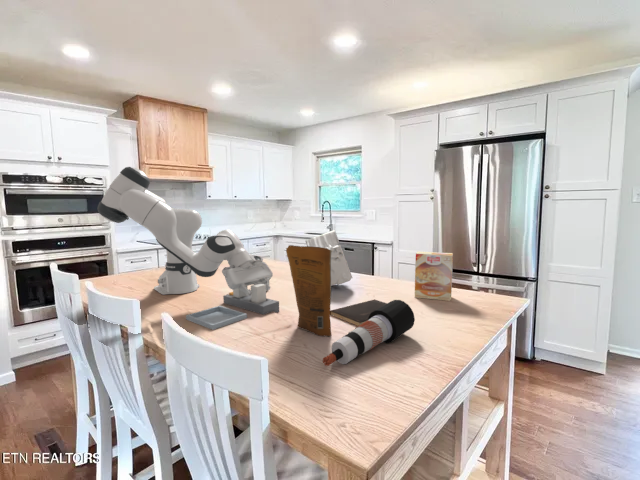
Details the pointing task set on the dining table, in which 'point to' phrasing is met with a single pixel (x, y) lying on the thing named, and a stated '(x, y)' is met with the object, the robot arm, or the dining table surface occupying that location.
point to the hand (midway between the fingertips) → (259, 292)
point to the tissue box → (333, 256)
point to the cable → (373, 332)
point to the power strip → (244, 301)
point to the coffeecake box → (433, 275)
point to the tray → (216, 317)
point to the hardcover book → (357, 311)
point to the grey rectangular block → (258, 293)
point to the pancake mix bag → (312, 287)
